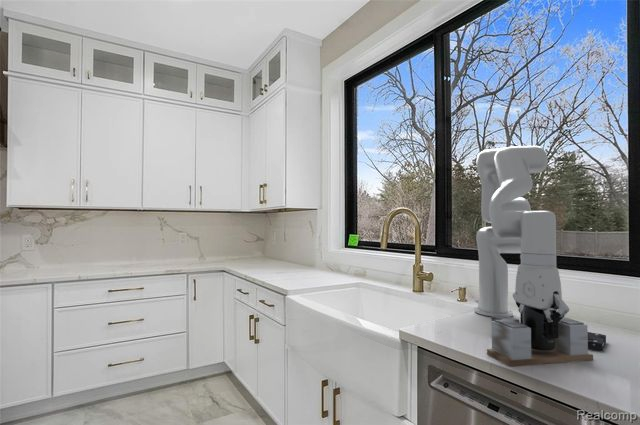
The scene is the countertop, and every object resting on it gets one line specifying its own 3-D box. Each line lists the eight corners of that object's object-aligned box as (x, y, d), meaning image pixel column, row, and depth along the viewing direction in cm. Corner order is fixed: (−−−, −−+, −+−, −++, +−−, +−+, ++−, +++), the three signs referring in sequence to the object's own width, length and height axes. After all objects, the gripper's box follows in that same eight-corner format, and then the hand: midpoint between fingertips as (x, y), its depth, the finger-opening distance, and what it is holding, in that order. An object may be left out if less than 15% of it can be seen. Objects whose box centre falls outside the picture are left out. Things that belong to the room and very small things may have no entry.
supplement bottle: (516, 343, 89) (515, 295, 90) (535, 340, 92) (535, 293, 92) (541, 352, 83) (541, 301, 83) (562, 349, 85) (561, 299, 86)
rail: (486, 353, 88) (486, 319, 89) (564, 348, 93) (563, 315, 94) (510, 366, 81) (510, 328, 81) (593, 359, 85) (592, 323, 86)
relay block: (491, 333, 106) (491, 316, 106) (499, 331, 108) (499, 314, 108) (511, 339, 101) (511, 321, 101) (519, 336, 103) (519, 319, 103)
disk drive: (606, 344, 98) (543, 332, 109) (606, 334, 99) (544, 323, 109) (602, 354, 91) (536, 340, 101) (602, 343, 91) (536, 330, 101)
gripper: (500, 257, 96) (500, 324, 95) (555, 265, 79) (556, 346, 78) (524, 257, 97) (524, 323, 97) (583, 264, 80) (584, 344, 80)
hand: (538, 332), depth 87 cm, fingers closed on supplement bottle, 6 cm apart
